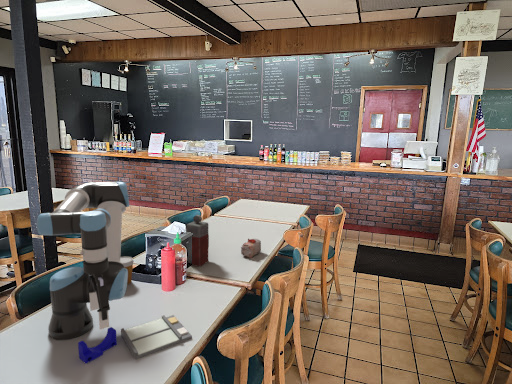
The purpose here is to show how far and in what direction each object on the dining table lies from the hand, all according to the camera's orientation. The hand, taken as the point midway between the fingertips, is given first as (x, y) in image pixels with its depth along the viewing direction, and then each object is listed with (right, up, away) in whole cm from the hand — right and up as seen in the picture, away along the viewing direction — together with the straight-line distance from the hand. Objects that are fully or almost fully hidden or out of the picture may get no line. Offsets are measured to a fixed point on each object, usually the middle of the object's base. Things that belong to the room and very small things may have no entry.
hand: (99, 318), depth 118 cm
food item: (+50, +4, +97) cm, 109 cm away
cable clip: (-2, -13, +4) cm, 14 cm away
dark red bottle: (+20, +2, +83) cm, 86 cm away
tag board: (+15, -12, +13) cm, 23 cm away
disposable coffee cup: (-12, -2, +55) cm, 57 cm away
